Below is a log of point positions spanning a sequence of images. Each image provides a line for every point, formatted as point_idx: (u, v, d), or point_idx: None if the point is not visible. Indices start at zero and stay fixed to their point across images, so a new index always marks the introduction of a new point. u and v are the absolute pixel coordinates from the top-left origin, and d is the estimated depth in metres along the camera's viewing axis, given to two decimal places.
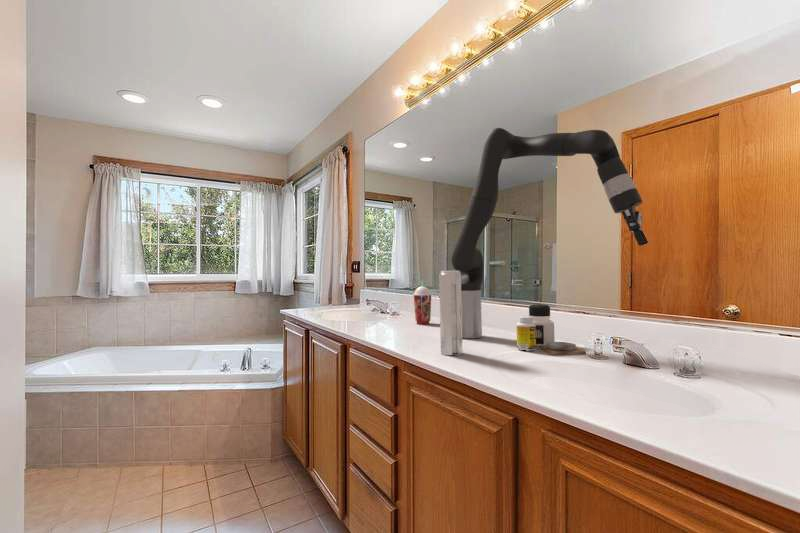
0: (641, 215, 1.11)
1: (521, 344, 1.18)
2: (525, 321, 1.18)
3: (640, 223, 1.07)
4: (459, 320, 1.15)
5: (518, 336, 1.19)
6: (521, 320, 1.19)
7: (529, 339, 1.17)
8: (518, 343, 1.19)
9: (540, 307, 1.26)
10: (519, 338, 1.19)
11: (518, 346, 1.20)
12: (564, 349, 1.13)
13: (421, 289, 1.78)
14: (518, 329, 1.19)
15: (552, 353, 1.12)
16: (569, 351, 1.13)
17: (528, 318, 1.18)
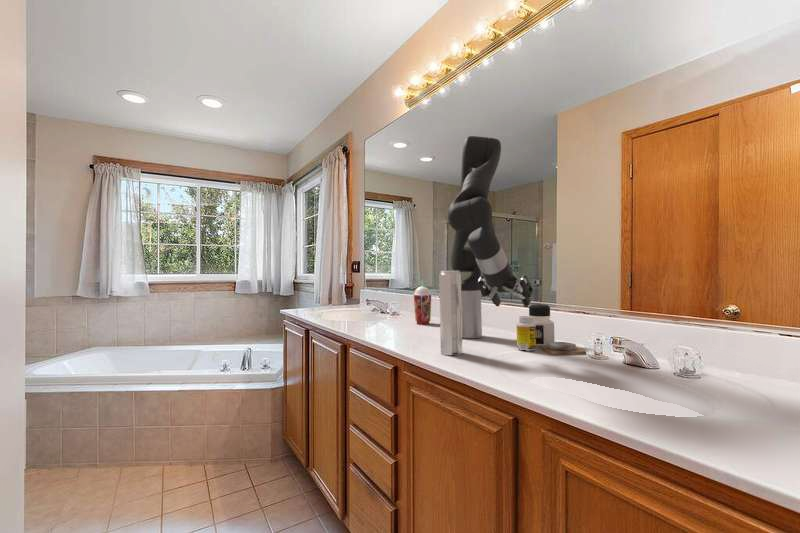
0: (504, 289, 1.05)
1: (521, 344, 1.18)
2: (525, 321, 1.18)
3: (492, 294, 1.10)
4: (459, 320, 1.15)
5: (518, 336, 1.19)
6: (521, 320, 1.19)
7: (529, 339, 1.17)
8: (518, 343, 1.19)
9: (540, 307, 1.26)
10: (519, 338, 1.19)
11: (518, 346, 1.20)
12: (564, 349, 1.13)
13: (421, 289, 1.78)
14: (518, 329, 1.19)
15: (552, 353, 1.12)
16: (569, 351, 1.13)
17: (528, 318, 1.18)
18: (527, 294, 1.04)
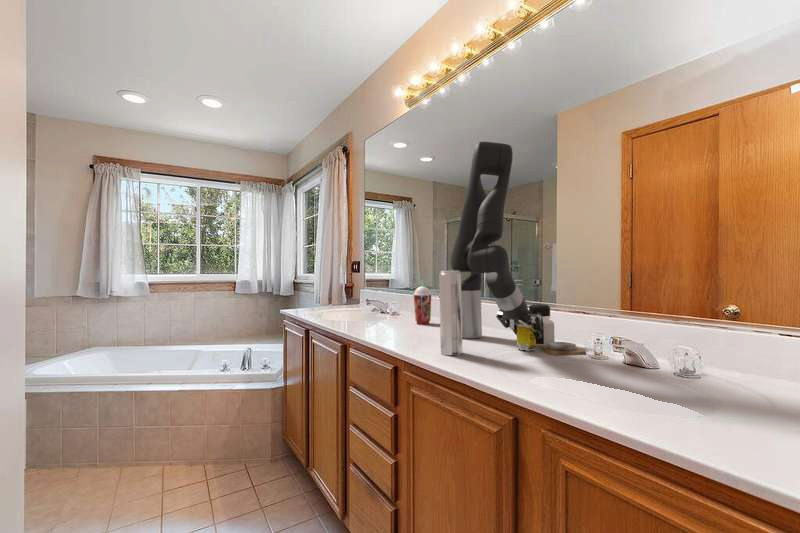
0: (519, 322, 1.15)
1: (521, 344, 1.18)
2: None
3: None
4: (459, 320, 1.15)
5: (518, 336, 1.19)
6: None
7: (529, 339, 1.17)
8: (518, 343, 1.19)
9: (540, 307, 1.26)
10: (519, 338, 1.19)
11: (518, 346, 1.20)
12: (564, 349, 1.13)
13: (421, 289, 1.78)
14: (518, 329, 1.19)
15: (552, 353, 1.12)
16: (569, 351, 1.13)
17: None
18: (538, 328, 1.14)
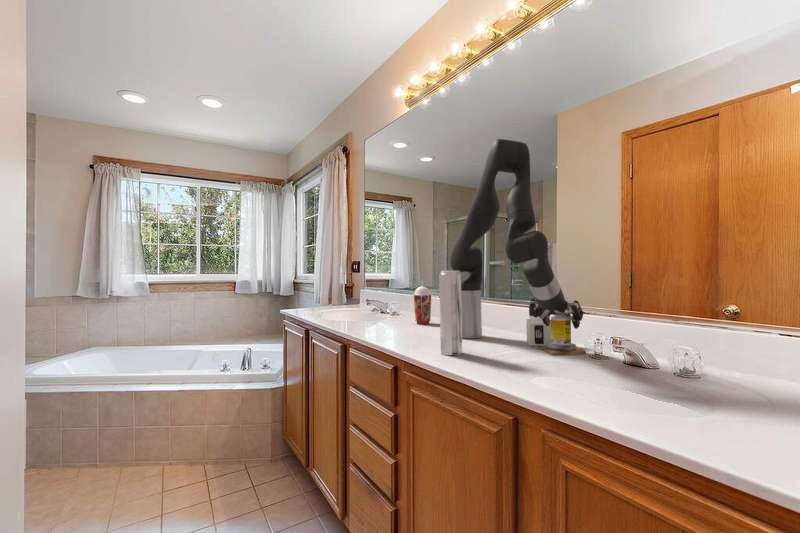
0: (556, 312, 1.12)
1: (556, 338, 1.15)
2: None
3: (543, 315, 1.17)
4: (459, 320, 1.15)
5: (553, 330, 1.16)
6: None
7: (565, 333, 1.14)
8: (553, 337, 1.16)
9: None
10: (554, 332, 1.16)
11: (552, 340, 1.17)
12: (564, 349, 1.13)
13: (421, 289, 1.78)
14: (553, 323, 1.16)
15: (552, 353, 1.12)
16: (569, 351, 1.13)
17: None
18: (578, 317, 1.10)
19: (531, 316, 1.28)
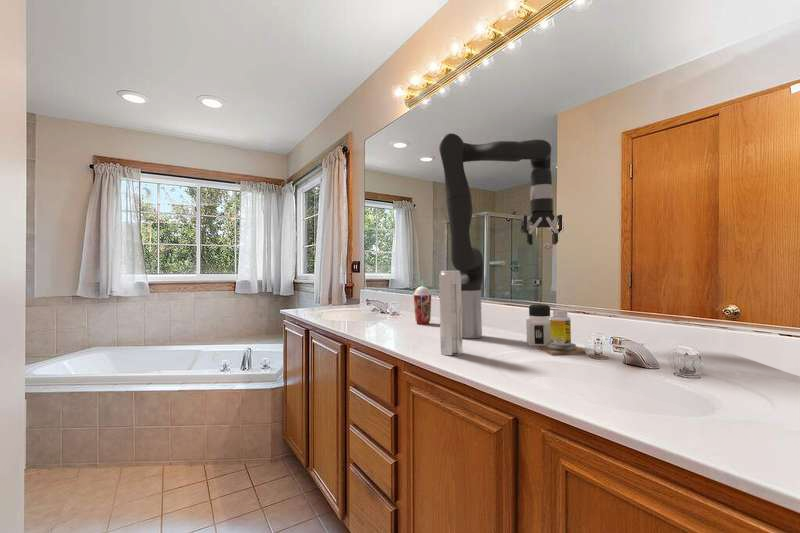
0: (547, 220, 1.36)
1: (556, 338, 1.15)
2: (561, 315, 1.15)
3: (533, 228, 1.36)
4: (459, 320, 1.15)
5: (553, 330, 1.16)
6: (556, 314, 1.16)
7: (565, 333, 1.14)
8: (553, 338, 1.16)
9: (540, 307, 1.26)
10: (554, 332, 1.16)
11: (552, 341, 1.17)
12: (564, 349, 1.13)
13: (421, 289, 1.78)
14: (553, 323, 1.16)
15: (552, 353, 1.12)
16: (569, 351, 1.13)
17: (563, 311, 1.15)
18: (561, 228, 1.37)
19: (531, 316, 1.28)
